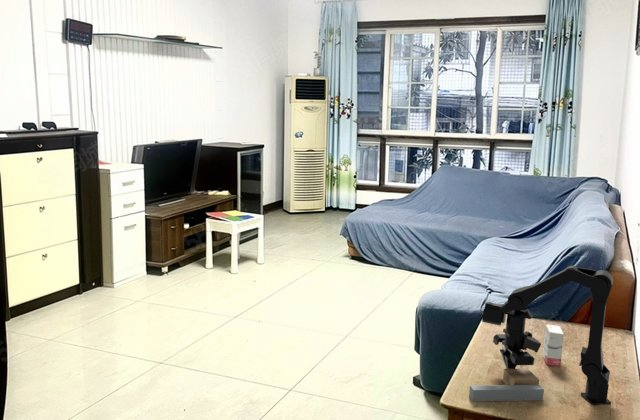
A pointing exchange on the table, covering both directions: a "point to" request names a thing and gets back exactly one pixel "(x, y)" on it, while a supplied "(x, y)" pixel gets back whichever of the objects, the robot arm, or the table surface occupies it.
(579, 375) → the table surface
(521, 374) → the walnut block
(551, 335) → the ink box
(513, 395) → the grey board
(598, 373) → the robot arm
